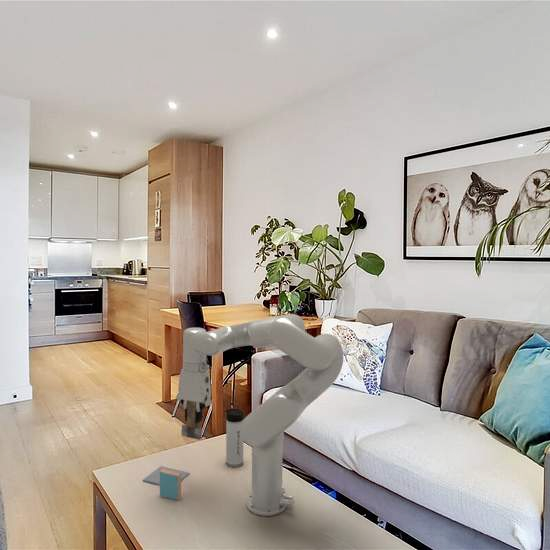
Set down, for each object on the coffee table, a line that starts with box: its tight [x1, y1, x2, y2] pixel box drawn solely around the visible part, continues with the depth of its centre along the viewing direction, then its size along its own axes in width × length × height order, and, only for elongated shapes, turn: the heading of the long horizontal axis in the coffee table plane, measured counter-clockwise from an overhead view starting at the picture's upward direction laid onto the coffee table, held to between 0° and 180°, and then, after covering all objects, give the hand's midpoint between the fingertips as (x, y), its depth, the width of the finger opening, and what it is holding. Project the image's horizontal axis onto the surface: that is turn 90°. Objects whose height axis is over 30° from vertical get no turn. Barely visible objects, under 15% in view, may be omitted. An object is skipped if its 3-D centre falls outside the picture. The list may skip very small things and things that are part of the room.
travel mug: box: [225, 408, 244, 468], centre depth 157 cm, size 6×7×20 cm
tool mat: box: [142, 465, 190, 486], centre depth 147 cm, size 12×10×1 cm
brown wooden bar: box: [181, 401, 203, 441], centre depth 140 cm, size 7×3×14 cm, turn 68°
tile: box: [159, 469, 182, 501], centre depth 136 cm, size 7×2×8 cm, turn 68°
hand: (193, 420), depth 140 cm, fingers closed on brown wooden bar, 3 cm apart
